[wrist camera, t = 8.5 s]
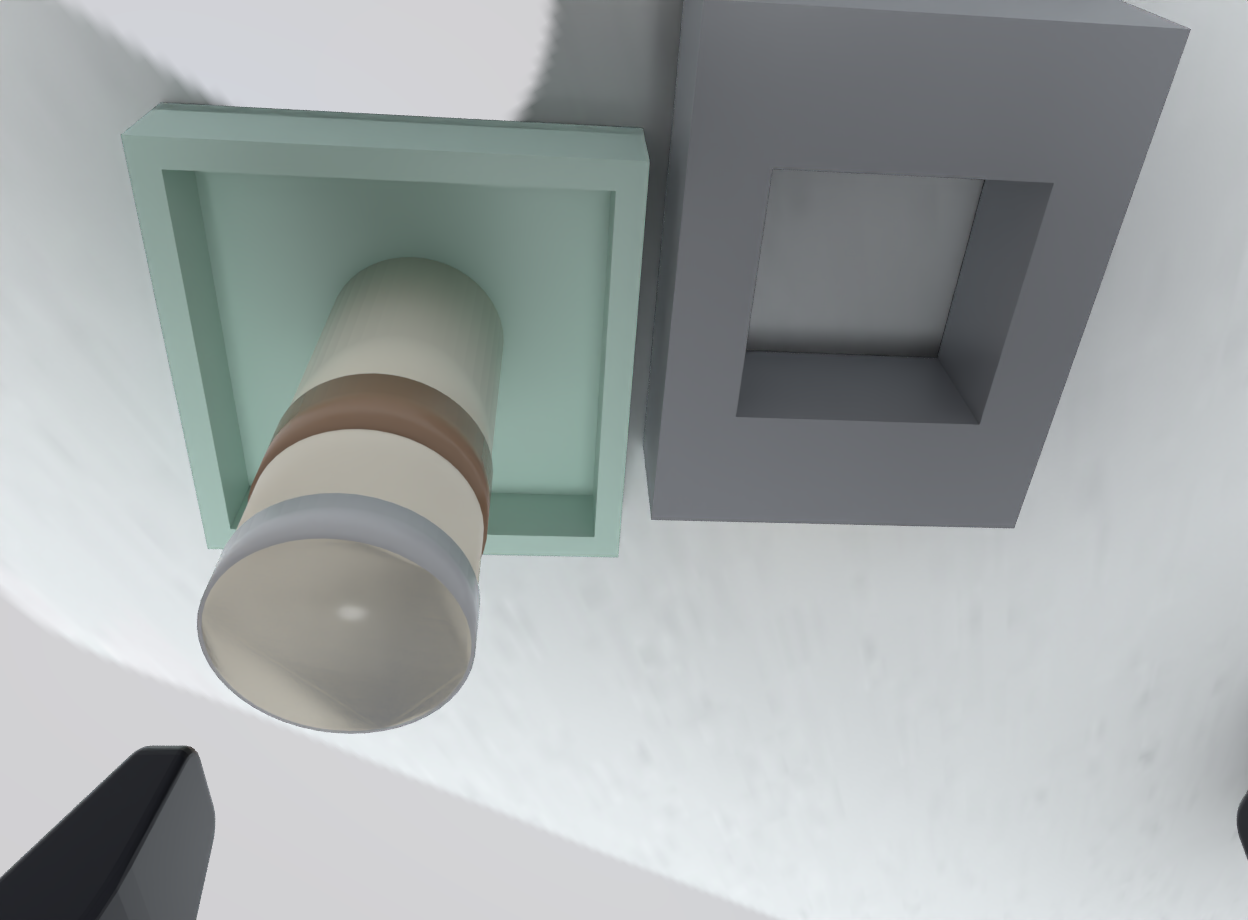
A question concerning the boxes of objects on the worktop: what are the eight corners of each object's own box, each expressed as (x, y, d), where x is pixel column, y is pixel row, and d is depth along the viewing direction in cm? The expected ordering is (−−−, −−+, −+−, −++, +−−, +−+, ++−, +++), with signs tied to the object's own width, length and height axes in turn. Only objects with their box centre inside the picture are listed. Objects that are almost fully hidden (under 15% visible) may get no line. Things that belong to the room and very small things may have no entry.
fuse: (506, 415, 20) (477, 734, 13) (335, 410, 20) (220, 733, 13) (506, 258, 18) (473, 538, 12) (318, 250, 18) (173, 531, 11)
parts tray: (614, 503, 22) (618, 557, 20) (233, 494, 21) (208, 548, 20) (642, 128, 17) (649, 161, 16) (160, 102, 17) (120, 134, 15)
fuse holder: (970, 459, 22) (1012, 532, 20) (642, 450, 21) (650, 523, 19) (1112, -4, 16) (1191, 28, 14) (686, -31, 16) (704, -2, 14)
